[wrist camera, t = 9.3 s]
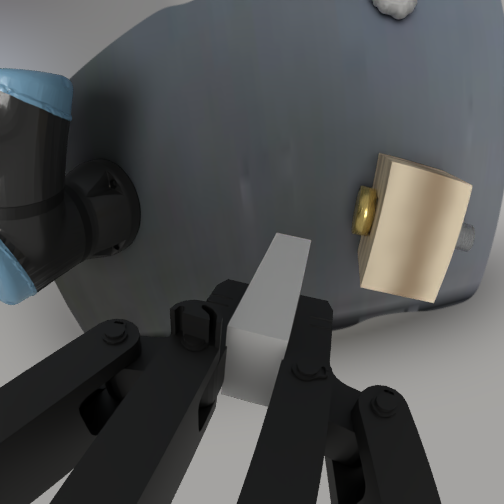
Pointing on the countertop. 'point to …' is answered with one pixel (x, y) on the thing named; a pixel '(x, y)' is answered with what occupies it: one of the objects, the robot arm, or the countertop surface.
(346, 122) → the countertop surface
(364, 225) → the pin
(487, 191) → the countertop surface
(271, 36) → the countertop surface
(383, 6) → the garlic
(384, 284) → the bore block
